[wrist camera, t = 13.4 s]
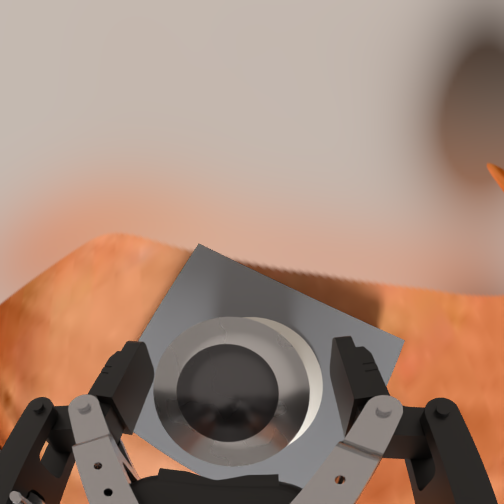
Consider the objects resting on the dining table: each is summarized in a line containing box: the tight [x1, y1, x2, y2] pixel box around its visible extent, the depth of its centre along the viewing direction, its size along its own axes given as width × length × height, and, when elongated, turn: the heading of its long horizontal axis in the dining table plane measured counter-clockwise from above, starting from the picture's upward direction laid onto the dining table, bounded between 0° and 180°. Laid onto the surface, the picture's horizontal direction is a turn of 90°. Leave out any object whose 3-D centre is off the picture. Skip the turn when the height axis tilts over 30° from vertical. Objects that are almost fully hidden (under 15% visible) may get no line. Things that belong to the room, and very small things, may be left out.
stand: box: [133, 244, 405, 488], centre depth 19 cm, size 16×14×4 cm
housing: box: [153, 317, 310, 467], centre depth 13 cm, size 7×7×10 cm
